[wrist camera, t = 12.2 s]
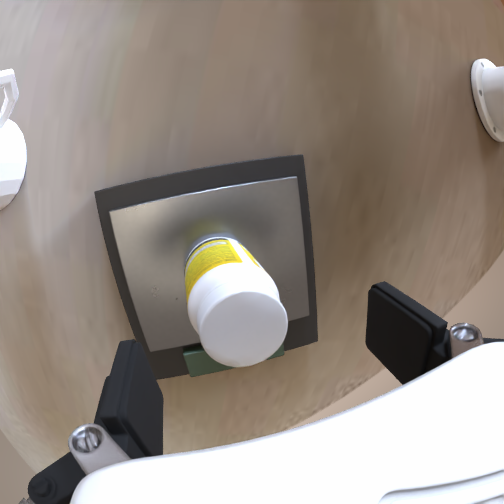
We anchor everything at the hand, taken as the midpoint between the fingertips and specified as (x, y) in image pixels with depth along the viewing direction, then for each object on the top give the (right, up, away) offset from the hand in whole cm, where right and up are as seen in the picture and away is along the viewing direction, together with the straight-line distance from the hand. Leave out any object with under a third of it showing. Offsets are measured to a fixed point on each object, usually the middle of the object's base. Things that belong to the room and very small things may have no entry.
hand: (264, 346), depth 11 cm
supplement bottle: (-3, +2, +10) cm, 10 cm away
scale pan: (-3, +3, +10) cm, 11 cm away
